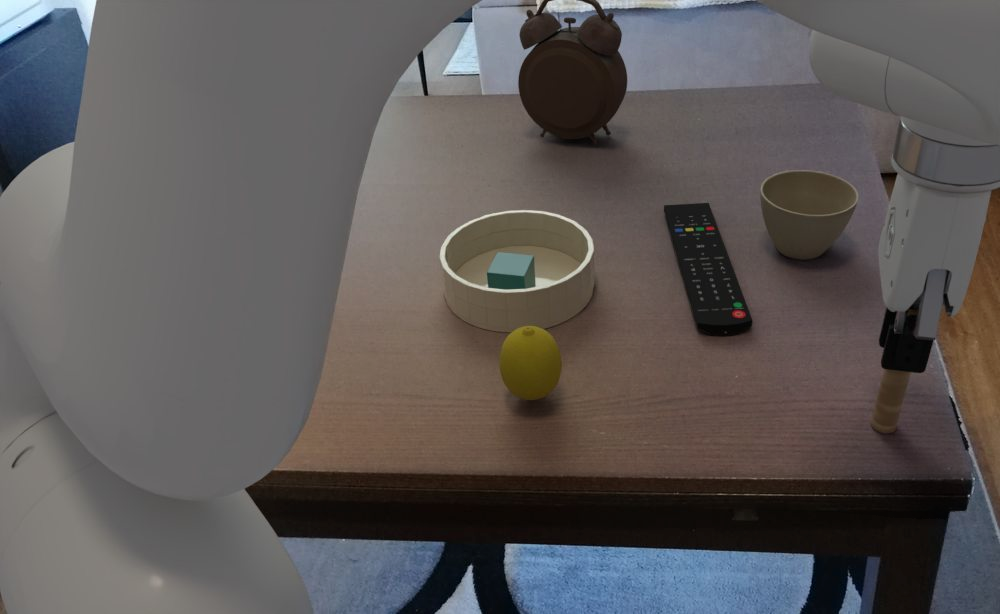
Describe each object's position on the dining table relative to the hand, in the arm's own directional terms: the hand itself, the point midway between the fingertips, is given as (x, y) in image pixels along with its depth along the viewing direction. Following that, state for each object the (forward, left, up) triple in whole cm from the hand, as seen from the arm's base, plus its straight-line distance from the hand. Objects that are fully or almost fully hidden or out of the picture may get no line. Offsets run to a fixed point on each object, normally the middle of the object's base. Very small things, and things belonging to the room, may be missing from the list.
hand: (900, 356), depth 70 cm
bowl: (+15, +36, -8) cm, 40 cm away
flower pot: (+28, +7, -8) cm, 29 cm away
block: (+12, +36, -7) cm, 39 cm away
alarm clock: (+53, +38, -8) cm, 65 cm away
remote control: (+22, +17, -8) cm, 28 cm away
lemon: (-2, +30, -8) cm, 31 cm away
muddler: (0, 0, -8) cm, 8 cm away
